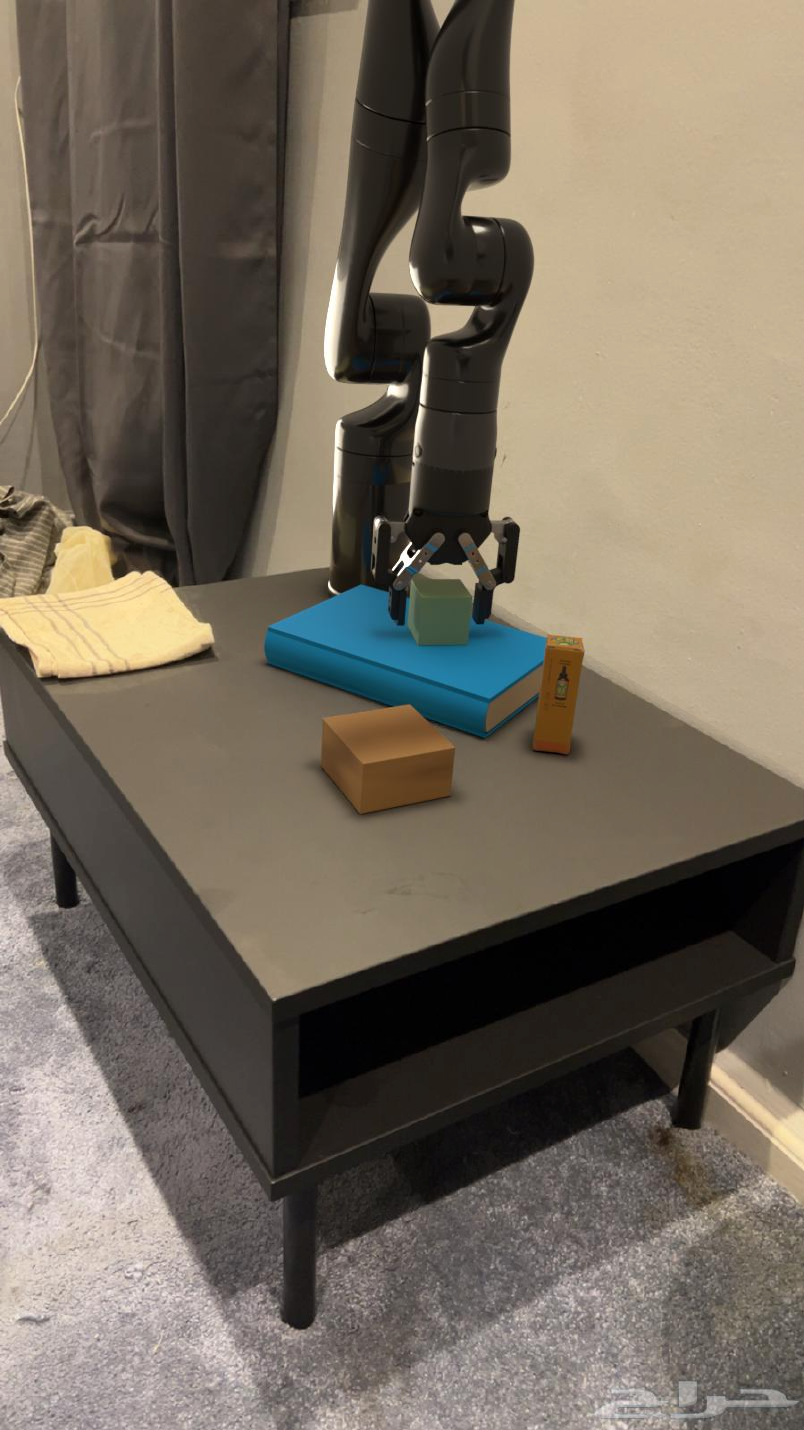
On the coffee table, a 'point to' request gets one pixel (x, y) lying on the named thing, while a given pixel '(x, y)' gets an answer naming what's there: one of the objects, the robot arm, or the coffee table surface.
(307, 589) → the coffee table surface
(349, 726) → the oak block
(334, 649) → the book
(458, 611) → the green block
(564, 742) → the supplement box
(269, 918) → the coffee table surface
